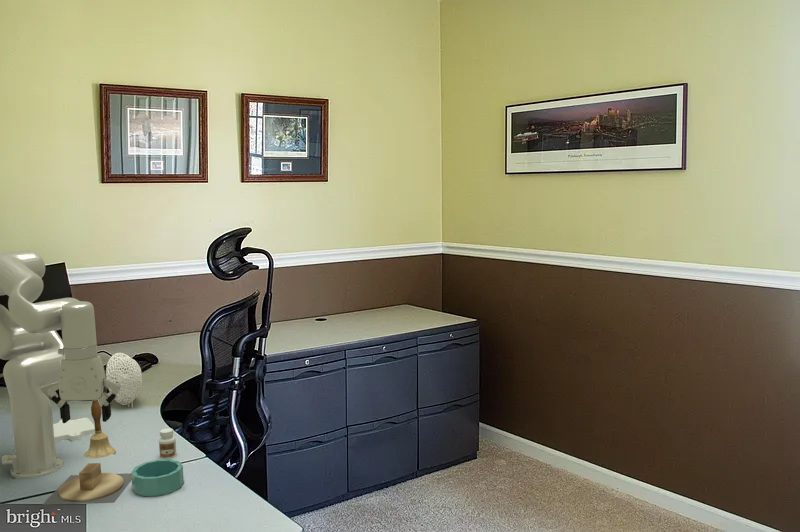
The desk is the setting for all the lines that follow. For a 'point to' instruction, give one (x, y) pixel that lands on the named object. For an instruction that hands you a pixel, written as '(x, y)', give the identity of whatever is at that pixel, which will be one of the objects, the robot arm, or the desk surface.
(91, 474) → the lid
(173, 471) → the bowl
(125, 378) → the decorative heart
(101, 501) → the mat
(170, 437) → the pill bottle
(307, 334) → the desk surface
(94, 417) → the hand bell
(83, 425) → the mounting plate
